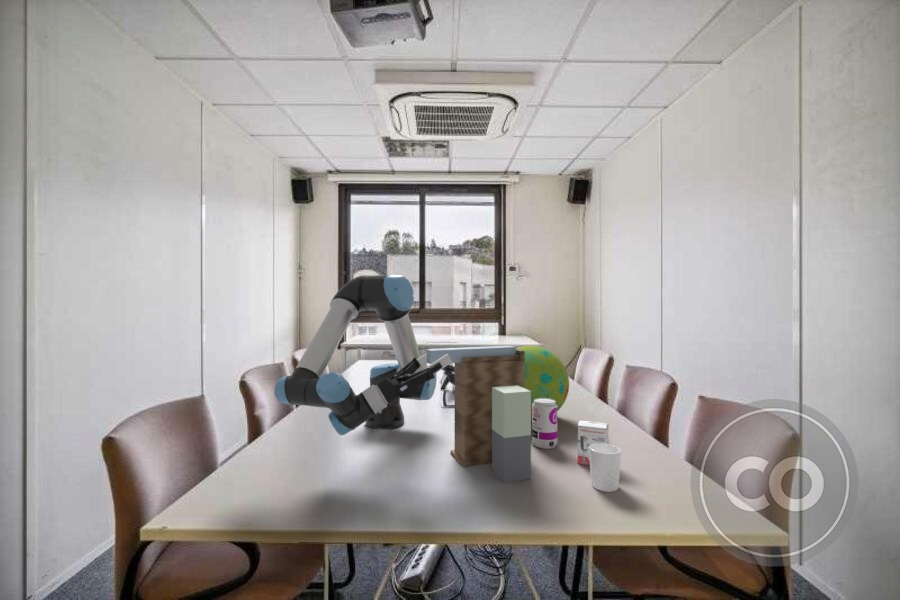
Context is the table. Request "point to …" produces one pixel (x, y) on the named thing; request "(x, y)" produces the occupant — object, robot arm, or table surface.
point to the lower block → (511, 457)
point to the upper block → (511, 411)
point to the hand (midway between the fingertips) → (442, 354)
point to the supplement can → (544, 423)
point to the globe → (545, 375)
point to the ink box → (590, 438)
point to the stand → (481, 402)
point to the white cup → (605, 466)
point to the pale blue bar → (469, 353)
